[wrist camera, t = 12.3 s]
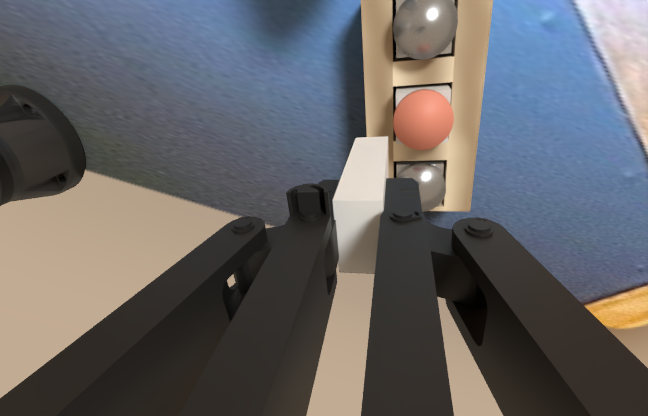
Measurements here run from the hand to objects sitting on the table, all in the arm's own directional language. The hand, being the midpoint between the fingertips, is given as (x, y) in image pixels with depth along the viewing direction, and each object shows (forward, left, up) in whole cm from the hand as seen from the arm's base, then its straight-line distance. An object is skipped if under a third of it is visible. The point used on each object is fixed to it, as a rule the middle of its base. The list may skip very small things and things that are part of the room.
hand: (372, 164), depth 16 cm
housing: (+3, -1, -22) cm, 22 cm away
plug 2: (+3, -8, -21) cm, 23 cm away
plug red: (+3, -1, -19) cm, 20 cm away
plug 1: (+3, +6, -21) cm, 22 cm away
